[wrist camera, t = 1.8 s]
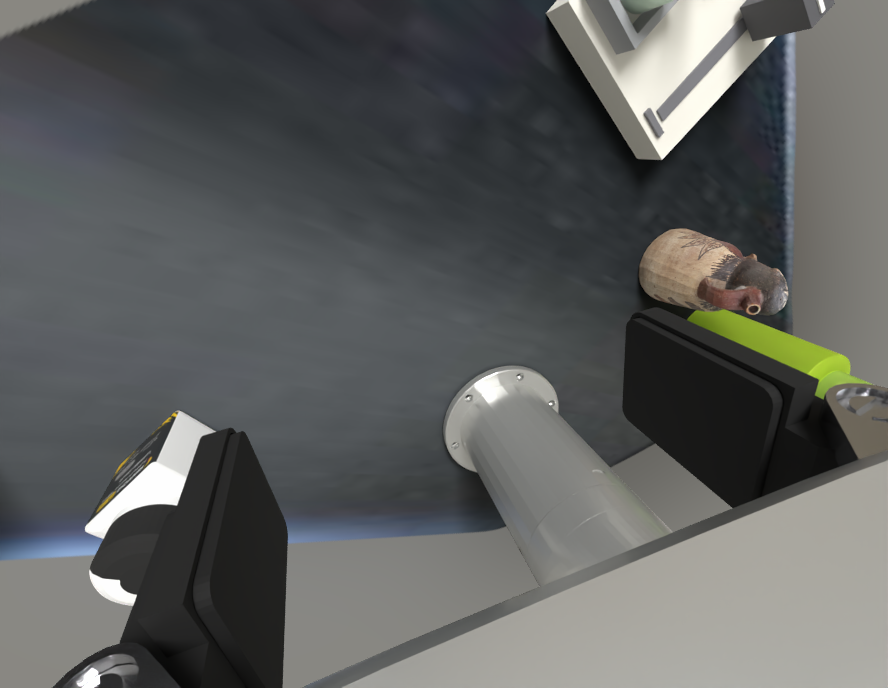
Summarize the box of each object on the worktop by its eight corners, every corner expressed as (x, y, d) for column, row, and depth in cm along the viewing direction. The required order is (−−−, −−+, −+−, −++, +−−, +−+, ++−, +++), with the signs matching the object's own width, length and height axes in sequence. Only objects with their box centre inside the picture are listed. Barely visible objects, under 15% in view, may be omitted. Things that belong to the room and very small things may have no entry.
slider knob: (772, 20, 33) (836, 3, 29) (752, 41, 33) (813, 27, 29) (759, -15, 31) (825, -38, 28) (739, 7, 32) (801, -12, 28)
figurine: (689, 291, 46) (804, 334, 36) (632, 303, 44) (734, 352, 34) (701, 223, 43) (831, 248, 32) (641, 233, 41) (756, 263, 31)
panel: (756, 27, 36) (827, 10, 31) (637, 158, 38) (686, 161, 33) (687, -156, 30) (764, -215, 25) (546, 13, 31) (591, -11, 26)
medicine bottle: (178, 407, 35) (127, 518, 25) (251, 450, 39) (234, 564, 28) (118, 465, 36) (43, 598, 25) (196, 502, 39) (158, 633, 29)
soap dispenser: (705, 289, 47) (947, 375, 29) (730, 324, 50) (961, 419, 32) (666, 330, 47) (879, 438, 30) (693, 362, 51) (900, 475, 33)
